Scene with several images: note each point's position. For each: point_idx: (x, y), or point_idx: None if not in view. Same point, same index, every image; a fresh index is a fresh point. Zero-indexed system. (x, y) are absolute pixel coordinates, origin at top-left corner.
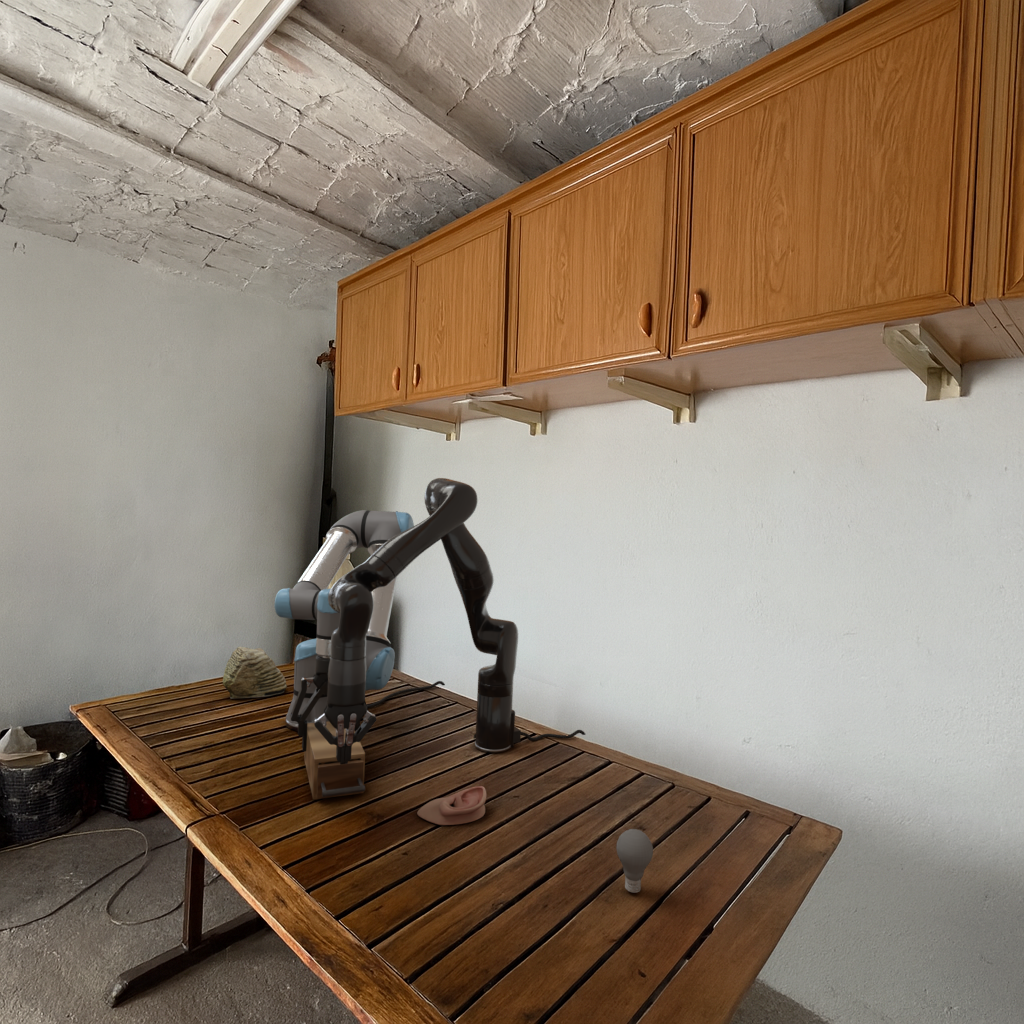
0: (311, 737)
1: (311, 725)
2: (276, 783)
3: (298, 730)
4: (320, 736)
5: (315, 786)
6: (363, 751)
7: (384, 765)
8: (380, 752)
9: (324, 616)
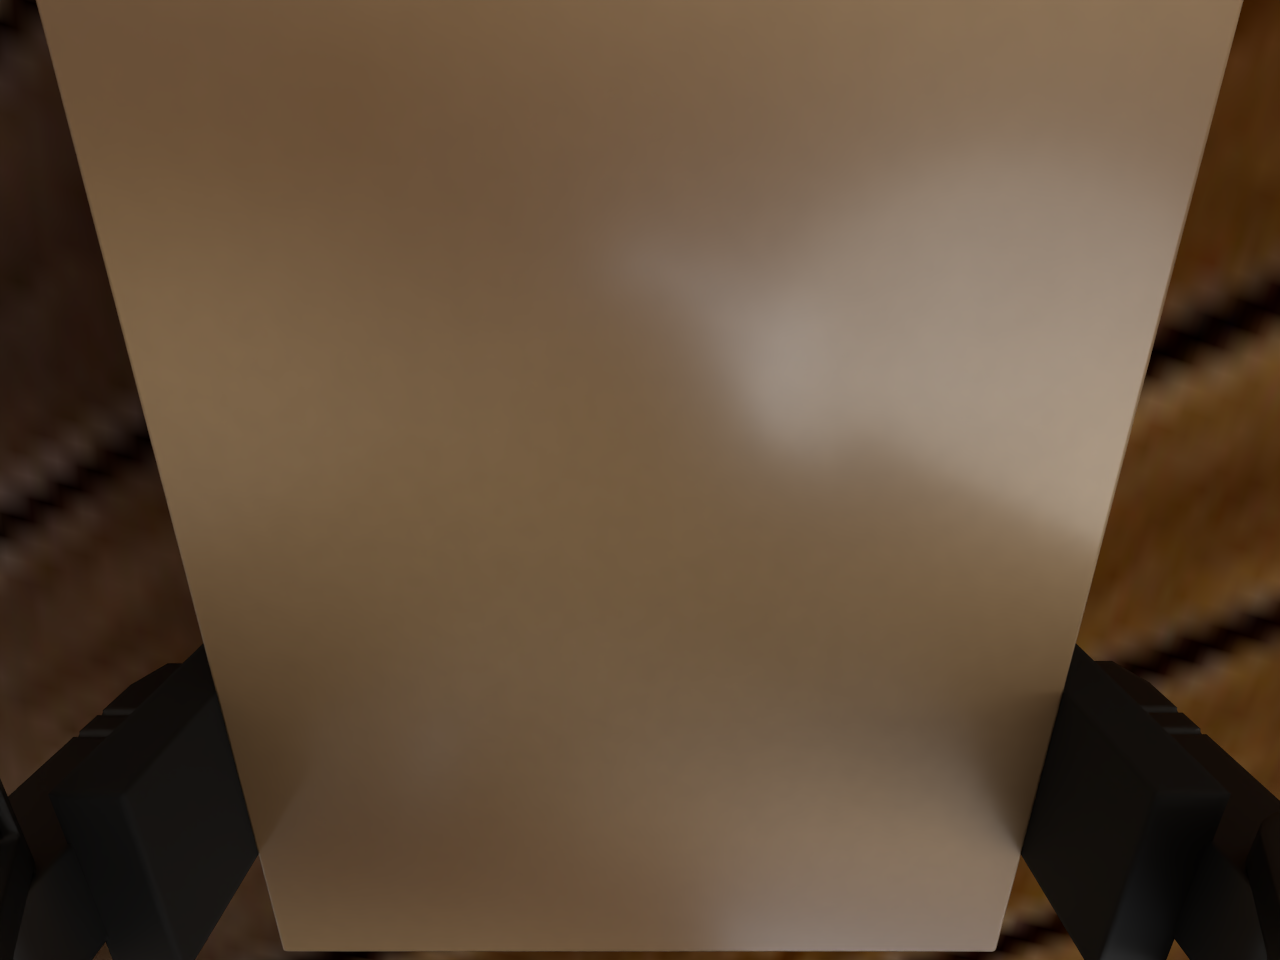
0: (1117, 288)
1: (927, 867)
2: (1223, 142)
3: (1196, 731)
4: (912, 301)
5: None
6: None
7: (73, 265)
8: (138, 585)
9: None
